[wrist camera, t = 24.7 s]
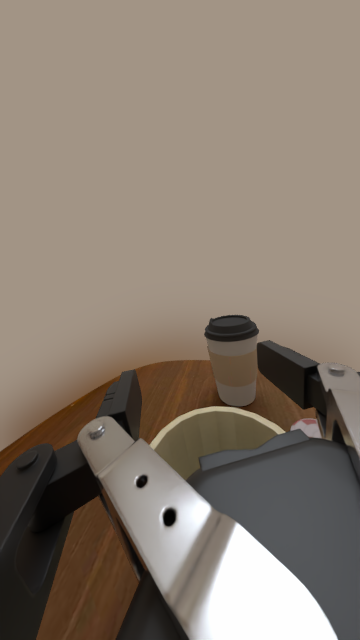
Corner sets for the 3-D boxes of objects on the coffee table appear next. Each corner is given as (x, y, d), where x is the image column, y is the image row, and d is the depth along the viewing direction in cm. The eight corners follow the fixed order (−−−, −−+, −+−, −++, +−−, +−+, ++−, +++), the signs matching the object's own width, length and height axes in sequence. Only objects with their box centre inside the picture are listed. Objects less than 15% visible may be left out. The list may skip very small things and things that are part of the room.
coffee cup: (257, 379, 36) (253, 309, 32) (267, 412, 28) (263, 323, 24) (213, 379, 38) (205, 314, 35) (210, 409, 30) (199, 328, 27)
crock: (286, 990, 6) (277, 970, 3) (139, 571, 14) (104, 473, 12) (352, 590, 12) (367, 473, 10) (223, 468, 21) (212, 390, 18)
